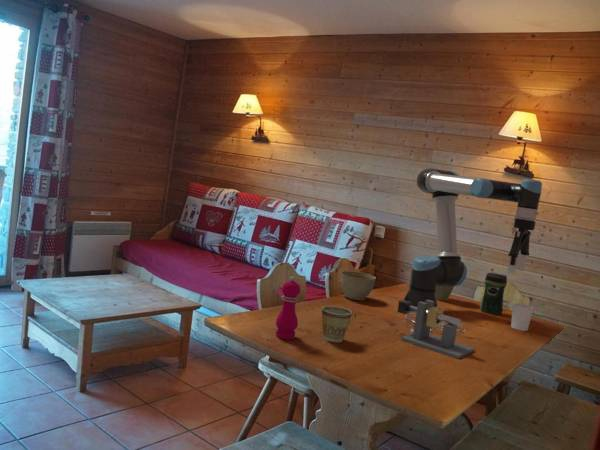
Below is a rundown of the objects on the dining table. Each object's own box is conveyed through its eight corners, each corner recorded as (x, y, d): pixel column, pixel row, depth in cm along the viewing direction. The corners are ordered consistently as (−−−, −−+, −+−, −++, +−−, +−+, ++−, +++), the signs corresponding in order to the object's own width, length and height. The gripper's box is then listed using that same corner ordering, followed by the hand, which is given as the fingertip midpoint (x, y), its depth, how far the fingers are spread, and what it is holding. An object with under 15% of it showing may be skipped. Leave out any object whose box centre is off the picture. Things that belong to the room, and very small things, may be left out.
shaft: (397, 311, 192) (399, 301, 192) (402, 310, 196) (404, 300, 195) (456, 329, 179) (458, 317, 178) (461, 327, 182) (462, 316, 181)
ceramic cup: (327, 345, 170) (331, 314, 169) (312, 334, 179) (316, 306, 178) (361, 343, 176) (365, 314, 175) (345, 333, 185) (349, 305, 184)
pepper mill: (273, 331, 177) (281, 273, 175) (295, 333, 177) (302, 275, 175) (274, 338, 169) (282, 277, 167) (296, 340, 170) (304, 280, 168)
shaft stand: (401, 339, 186) (406, 301, 185) (419, 333, 197) (424, 296, 195) (458, 358, 173) (465, 317, 172) (474, 351, 184) (480, 311, 182)
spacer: (425, 325, 184) (428, 308, 184) (433, 323, 189) (435, 306, 188) (433, 327, 183) (436, 311, 182) (441, 325, 187) (443, 308, 187)
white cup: (531, 332, 220) (535, 309, 219) (511, 329, 221) (515, 306, 220) (526, 327, 228) (530, 305, 227) (507, 324, 229) (511, 302, 228)
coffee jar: (503, 313, 250) (509, 275, 248) (499, 316, 243) (506, 276, 241) (482, 308, 255) (488, 270, 253) (478, 311, 248) (484, 272, 246)
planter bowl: (364, 304, 232) (368, 280, 231) (331, 296, 240) (335, 273, 239) (378, 299, 246) (381, 276, 245) (346, 291, 254) (349, 269, 253)
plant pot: (456, 299, 269) (461, 268, 267) (452, 304, 255) (457, 272, 254) (427, 293, 275) (431, 263, 273) (421, 298, 261) (426, 266, 259)
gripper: (527, 220, 195) (517, 276, 198) (542, 220, 215) (533, 271, 218) (507, 217, 200) (497, 272, 202) (523, 217, 220) (514, 267, 222)
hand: (515, 272), depth 210 cm, fingers open, 13 cm apart
